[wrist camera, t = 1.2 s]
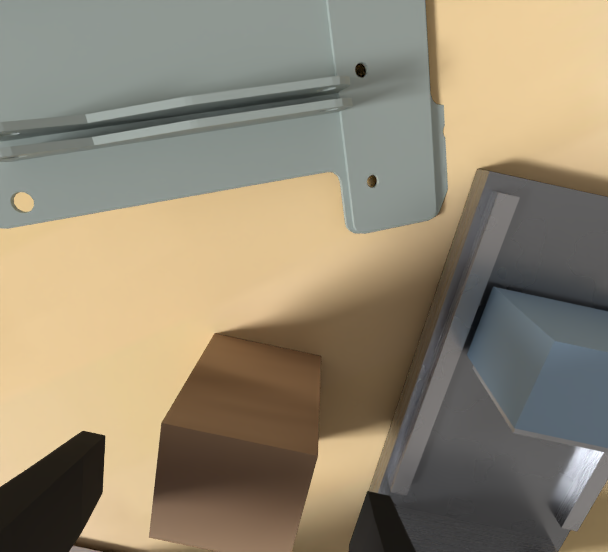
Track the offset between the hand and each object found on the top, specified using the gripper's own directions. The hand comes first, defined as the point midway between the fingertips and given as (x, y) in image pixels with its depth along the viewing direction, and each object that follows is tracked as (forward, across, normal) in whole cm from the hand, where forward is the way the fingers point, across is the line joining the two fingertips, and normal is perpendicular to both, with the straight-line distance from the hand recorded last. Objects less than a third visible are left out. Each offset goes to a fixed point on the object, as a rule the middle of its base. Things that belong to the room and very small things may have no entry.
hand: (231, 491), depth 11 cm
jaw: (+3, -9, -5) cm, 11 cm away
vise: (+5, -9, -2) cm, 10 cm away
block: (+5, 0, 0) cm, 5 cm away
